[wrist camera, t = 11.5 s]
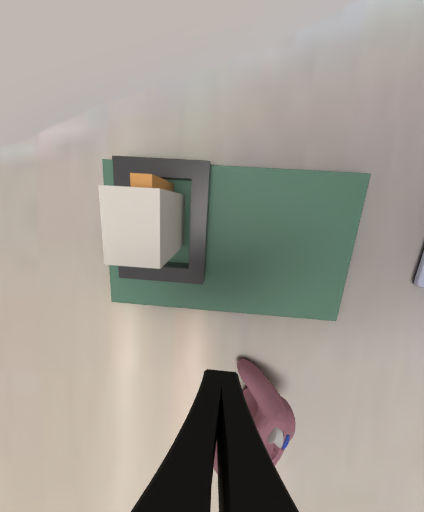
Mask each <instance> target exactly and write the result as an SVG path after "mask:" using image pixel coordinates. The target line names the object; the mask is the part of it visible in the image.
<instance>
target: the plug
mask: <svg viewBox="0 0 424 512" xmlns="http://www.w3.org/2000/svg"><path fill="white" fill-rule="evenodd" d="M130 185H131V187H125V186H108V185H98V187H99V200H100V214H101V227H102V241H103V255H104V265H116V266H129V267H142V268H155V269H161V268H162V267H163V266H164V265H165V264H166V263H167V262H168V261H169V260H170V259H171V258H172V257H173V256H174V255H175V254H176V253H177V252H178V251H179V250H180V249H181V248H182V247H183V246H184V233H185V195H184V194H180V193H176V192H174V183H172V182H169V181H167V180H165V179H162V178H160V177H158V176H155V175H153V174H141V173H130Z"/></svg>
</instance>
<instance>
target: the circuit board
mask: <svg viewBox="0 0 424 512" xmlns="http://www.w3.org/2000/svg"><path fill="white" fill-rule="evenodd" d="M102 162H103V177H104V185H108V186H114V179H113V161H112V160H107V159H102ZM370 175H371V174H369V173H350V172H331V171H313V170H294V169H275V168H257V167H238V166H219V165H211V179H210V197H209V215H208V233H207V251H206V270H205V280H204V284H203V285H201V284H189V283H176V282H164V281H151V280H139V279H126V278H119V271H118V266H116V265H109V269H110V284H111V299H112V302H119V303H131V304H143V305H155V306H166V307H178V308H190V309H201V310H213V311H225V312H236V313H248V314H260V315H271V316H283V317H295V318H307V319H318V320H330V321H336V320H337V316H338V311H339V307H340V303H341V299H342V294H343V290H344V286H345V281H346V277H347V273H348V269H349V264H350V260H351V256H352V252H353V247H354V243H355V239H356V235H357V230H358V226H359V222H360V217H361V213H362V209H363V205H364V200H365V196H366V192H367V188H368V183H369V179H370ZM165 180H167V179H165ZM167 181H169V182H172V183H174V192H176V193H180V194H184V195H185V233H184V246H183V247H182V248H181V249H180V250H179V251H178V252H177V253H176V254H175V255H174V256H173V257H172V258H171V259H170V260H169V261H168V262H177V263H189V242H190V213H191V183H192V181H184V180H167Z"/></svg>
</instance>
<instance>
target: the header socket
mask: <svg viewBox="0 0 424 512" xmlns="http://www.w3.org/2000/svg"><path fill="white" fill-rule="evenodd" d="M112 161H113V179H114V186H125V187H131V185H130V173H141V174H153V175H155V176H158V177H160V178H162V179H167V180H184V181H192V183H191V213H190V242H189V263H177V262H167V263H166V264H165V265H164V266H163V267H162V268H161V269H155V268H142V267H129V266H118V271H119V278H126V279H139V280H151V281H164V282H176V283H189V284H201V285H203V284H204V280H205V270H206V251H207V233H208V215H209V197H210V179H211V163H210V161H202V160H183V159H164V158H145V157H126V156H112Z"/></svg>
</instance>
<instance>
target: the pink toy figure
mask: <svg viewBox="0 0 424 512" xmlns="http://www.w3.org/2000/svg"><path fill="white" fill-rule="evenodd" d="M237 368H238V372H239V374H240V376H241V378H242V380H243V381H244V383H245V384H246V386H247V387H248V388H246V389H245V390H244V391H243V394H244V397H245V400H246V403H247V405H248V408H249V411H250V413H251V415H252V418H253V420H254V423H255V425H256V427H257V430H258V432H259V434H260V437H261V439H262V441H263V443H264V445H265V447H266V450H267V452H268V454H269V456H270V458H271V460H272V462H273V464H274V466H275V465H276V463H277V462H278V461H279V459H280V457H281V456H282V454H283V452H284V450H285V448H286V447H287V445H288V443H289V441H290V440H291V439H292V437H293V435H294V432H295V418H294V414H293V411H292V409H291V407H290V405H289V404H288V402H287V401H286V400H285V399H284V398H282V397H281V396H280V394H279V393H278V392H277V390H276V389H275V388H274V386H273V385H272V384H271V382H270V381H269V380H268V379H267V377H266V376H265V375H264V374H263V373H262V372H261V371H260V370H259V369H258V368H257V367H256V366H255V365H254V364H252V363H251V362H250V361H248V360H246V359H240V360H239V361H238V362H237ZM214 469H215V471H216V473H217V474H218V463H217V441H216V450H215V458H214Z"/></svg>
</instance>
